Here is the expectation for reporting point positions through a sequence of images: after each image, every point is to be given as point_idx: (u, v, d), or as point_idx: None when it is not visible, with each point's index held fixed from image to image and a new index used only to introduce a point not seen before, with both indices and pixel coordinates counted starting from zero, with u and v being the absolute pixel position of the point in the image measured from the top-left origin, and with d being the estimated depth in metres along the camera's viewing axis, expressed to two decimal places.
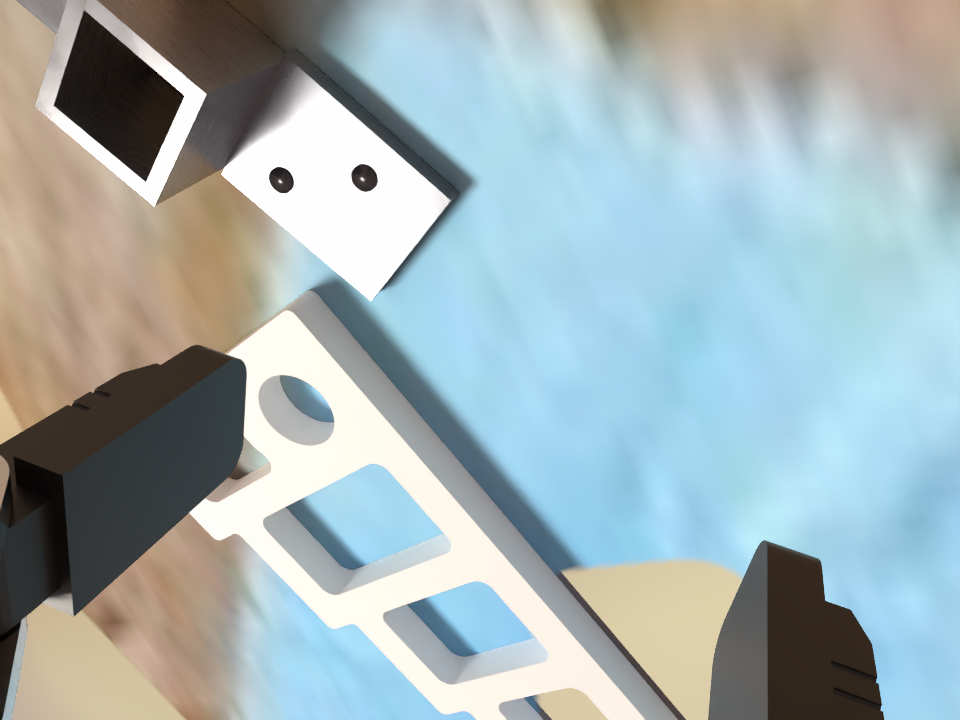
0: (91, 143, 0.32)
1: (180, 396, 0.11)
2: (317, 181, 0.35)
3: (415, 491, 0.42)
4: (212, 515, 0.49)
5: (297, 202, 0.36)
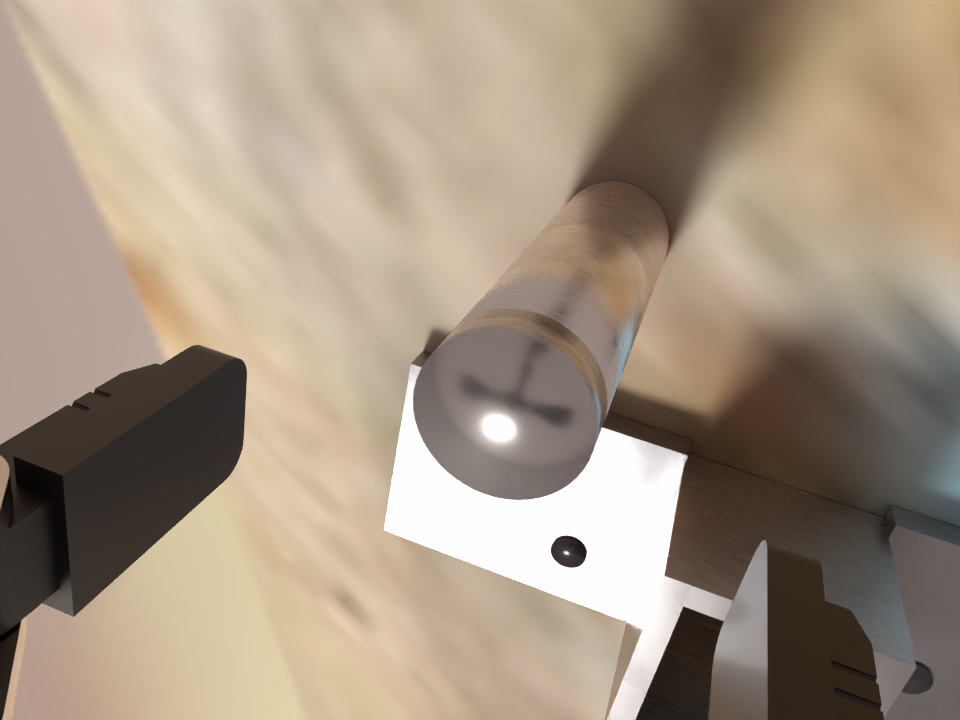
0: None
1: (180, 396, 0.11)
2: None
3: None
4: None
5: (943, 699, 0.24)
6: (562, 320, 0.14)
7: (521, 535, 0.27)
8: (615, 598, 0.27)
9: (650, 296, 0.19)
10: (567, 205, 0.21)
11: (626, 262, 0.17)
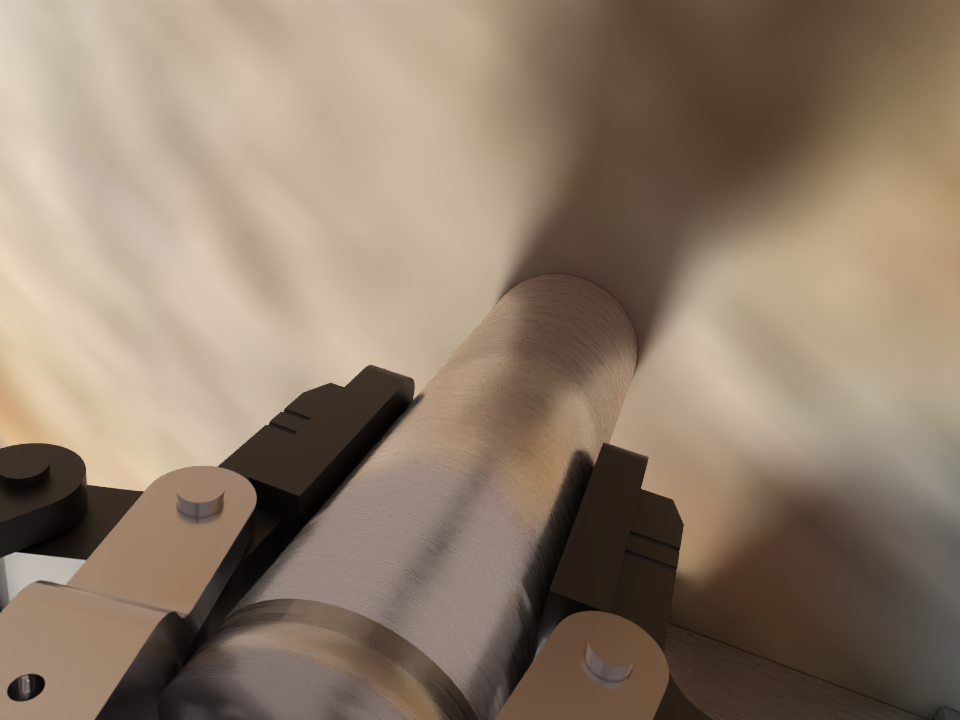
0: None
1: (374, 416, 0.11)
2: None
3: None
4: None
5: None
6: (405, 624, 0.07)
7: None
8: None
9: None
10: (491, 313, 0.15)
11: (557, 434, 0.11)
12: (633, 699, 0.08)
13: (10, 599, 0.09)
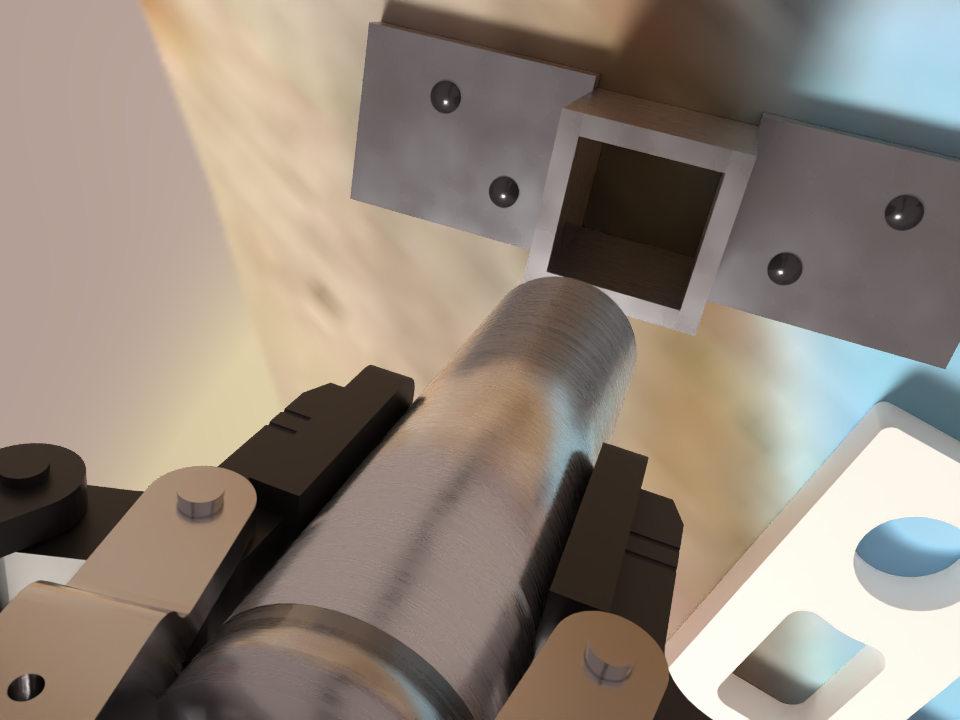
0: None
1: (374, 416, 0.11)
2: (836, 247, 0.29)
3: None
4: None
5: (812, 286, 0.29)
6: (404, 627, 0.07)
7: (464, 182, 0.32)
8: None
9: None
10: (491, 316, 0.15)
11: (556, 438, 0.11)
12: (633, 699, 0.08)
13: (10, 599, 0.09)
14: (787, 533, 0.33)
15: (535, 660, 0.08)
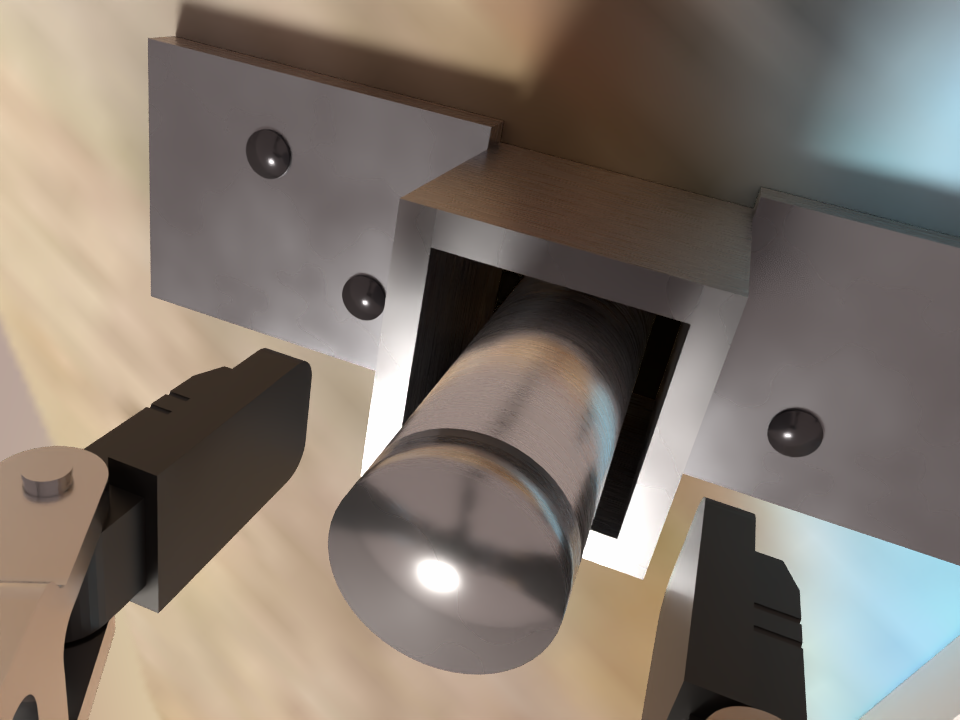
0: None
1: (256, 398, 0.11)
2: (878, 406, 0.18)
3: None
4: None
5: (838, 461, 0.18)
6: (521, 443, 0.10)
7: (307, 281, 0.21)
8: None
9: (637, 374, 0.16)
10: None
11: (607, 343, 0.14)
12: None
13: None
14: None
15: None
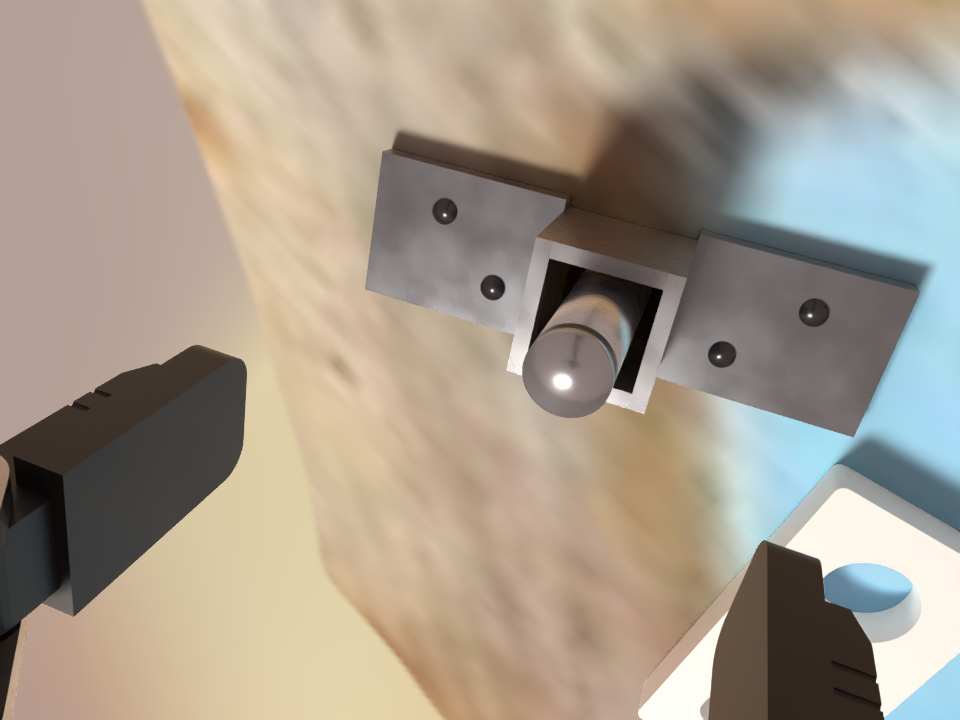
0: None
1: (180, 396, 0.11)
2: (762, 338, 0.35)
3: None
4: None
5: (744, 369, 0.36)
6: (595, 328, 0.28)
7: (460, 279, 0.39)
8: None
9: (639, 319, 0.34)
10: None
11: (626, 300, 0.32)
12: None
13: None
14: None
15: None
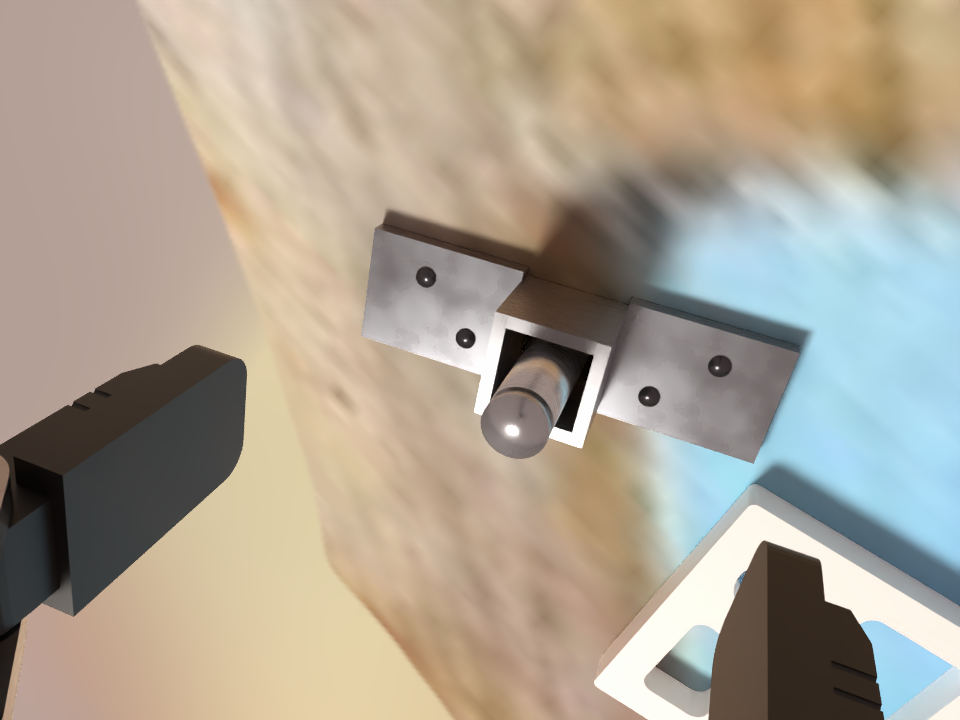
0: None
1: (180, 396, 0.11)
2: (680, 385, 0.44)
3: (916, 634, 0.44)
4: None
5: (667, 408, 0.44)
6: (536, 391, 0.36)
7: (439, 330, 0.47)
8: None
9: (580, 372, 0.42)
10: None
11: (566, 360, 0.40)
12: None
13: None
14: (689, 571, 0.47)
15: None
